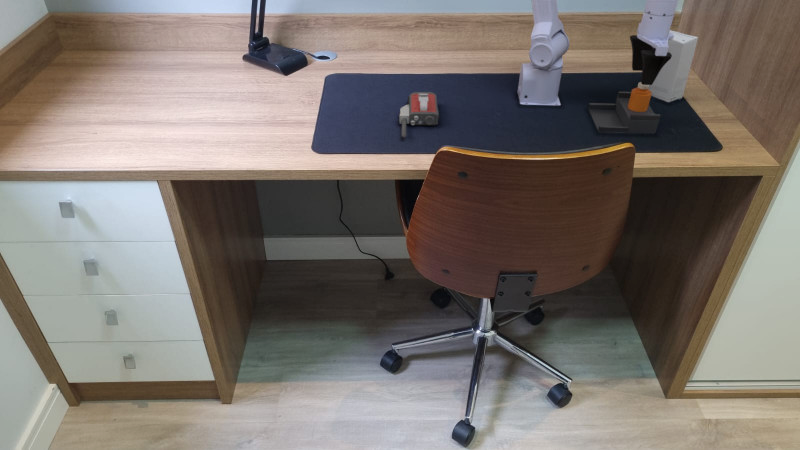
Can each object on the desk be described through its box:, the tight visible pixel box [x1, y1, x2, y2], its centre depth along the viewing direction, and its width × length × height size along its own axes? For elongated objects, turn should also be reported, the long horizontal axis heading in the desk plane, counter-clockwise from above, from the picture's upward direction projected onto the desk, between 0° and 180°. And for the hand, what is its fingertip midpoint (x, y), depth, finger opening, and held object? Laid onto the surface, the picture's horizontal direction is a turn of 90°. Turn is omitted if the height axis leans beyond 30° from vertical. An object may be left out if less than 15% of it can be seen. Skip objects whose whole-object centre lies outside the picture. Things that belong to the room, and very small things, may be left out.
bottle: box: [628, 81, 652, 112], centre depth 122 cm, size 4×4×6 cm
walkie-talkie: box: [398, 91, 440, 139], centre depth 126 cm, size 9×4×20 cm
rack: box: [587, 91, 661, 135], centre depth 125 cm, size 12×12×5 cm
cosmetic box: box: [648, 29, 699, 103], centre depth 133 cm, size 8×6×15 cm
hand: (641, 77), depth 121 cm, fingers open, 7 cm apart
